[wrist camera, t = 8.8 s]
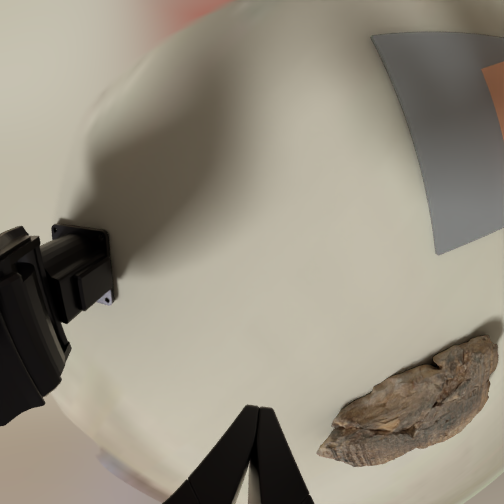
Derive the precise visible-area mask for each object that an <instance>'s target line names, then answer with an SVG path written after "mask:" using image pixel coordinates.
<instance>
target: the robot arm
mask: <svg viewBox="0 0 504 504" xmlns="http://www.w3.org/2000/svg"><path fill="white" fill-rule="evenodd" d="M56 229H57V230H56ZM101 235H103V238H102V237H101ZM108 299H109V300H108ZM95 302H98V303H102V304H105V305H111V304H112V303H113V302H114V293H113V281H112V271H111V260H110V251H109V236H108V233H107V232H106V231H105V230H101V229H94V228H87V227H79V226H72V225H65V224H54V225H53V226H52V241H50V242H48V243H46V244H43V245H41V246H40V238H39V236H29V234H28V233H27V232H26V231H25V229H24V228H23V226H17V227H15V228H12V229H10V230H7V231H5V232H3V233H1V234H0V426H4V425H6V424H7V423H9V422H10V421H11V420H12V419H14V418H15V417H16V416H18V415H19V414H21V413H22V412H24V411H27V410H29V409H31V408H34V407H39V406H43V405H45V401H44V399H43V397H45V396H47V395H48V394H49V393H50V392H52V391H53V390H54V389H55V388H56V387H57V386H58V385H59V384H60V382H61V380H62V378H61V374H62V371H63V369H64V366H65V363H66V360H67V358H68V356H69V353H70V351H71V349H72V348H71V345H70V343H69V341H67V338H66V335H65V333H64V330H63V327H62V324H61V323H62V322H63V323H65V324H68V323H69V322H70V321H71V320H72V319H73V318H75V317H76V316H77V315H78V314H79V313H80V312H81V311H86V310H87V309H88V308H90V307H91V306H92V305H93V304H94V303H95ZM249 461H250V463H249ZM248 465H249V488H248V504H314V502H313V500H312V497H311V496H310V495H309V491H308V489H307V487H306V485H305V482H304V480H303V478H302V476H301V473H300V471H299V469H298V466H297V464H296V462H295V460H294V457H293V455H292V453H291V450H290V448H289V446H288V443H287V441H286V438H285V436H284V434H283V431H282V429H281V426H280V424H279V422H278V419H277V417H276V414H275V412H274V410H273V408H269V407H260V408H259V407H258V406H254V405H246V406H245V407H244V408H243V410H242V411H241V412H240V414H239V415H238V416H237V418H236V419H235V420H234V422H233V423H232V424H231V426H230V427H229V428H228V430H227V431H226V432H225V433H224V435H223V436H222V437H221V439H220V440H219V441H218V442H217V444H216V445H215V446H214V447H213V449H212V450H211V451H210V452H209V454H208V455H207V456H206V457H205V458H204V460H203V461H202V462H201V463H200V464H199V466H198V467H197V468H196V469H195V470H194V471H193V473H192V474H191V475H190V476H189V477H188V480H185V482H184V483H183V484H182V485H181V486H180V487H179V488H178V489H177V490H176V491H175V492H174V493H173V494H172V495H171V496H170V497H169V498H168V499H167V500H166V501H165V502H163V503H162V504H235V503H236V500H237V497H238V495H239V492H240V489H241V486H242V483H243V481H244V478H245V475H246V472H247V469H248Z"/></svg>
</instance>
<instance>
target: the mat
mask: <svg viewBox="0 0 504 504" xmlns="http://www.w3.org/2000/svg"><path fill="white" fill-rule="evenodd" d="M371 39H372V41H373V43H374V45H375V47H376V49H377V51H378V53H379V55H380V57H381V59H382V61H383V63H384V66H385V68H386V70H387V72H388V74H389V77H390V79H391V81H392V84H393V86H394V89H395V91H396V94H397V96H398V99H399V101H400V104H401V107H402V109H403V112H404V115H405V118H406V121H407V124H408V127H409V130H410V133H411V136H412V139H413V143H414V146H415V150H416V153H417V157H418V160H419V164H420V168H421V172H422V176H423V181H424V185H425V190H426V195H427V200H428V205H429V210H430V216H431V222H432V229H433V236H434V243H435V252H436V254H437V255H440V254H443V253H445V252H448V251H451V250H453V249H455V248H458V247H460V246H463V245H465V244H468V243H470V242H472V241H475V240H477V239H479V238H482V237H484V236H486V235H489V234H491V233H493V232H495V231H497V230H500V229H502V228H504V140H503V136H502V132H501V128H500V124H499V120H498V117H497V113H496V110H495V106H494V103H493V100H492V97H491V94H490V91H489V88H488V86H487V83H486V80H485V78H484V75H483V73H482V70H481V69H483V68H486V67H489V66H491V65H494V64H497V63H500V62H504V38H502V37H496V36H489V35H481V34H471V33H457V32H405V33H391V34H380V35H372V36H371Z"/></svg>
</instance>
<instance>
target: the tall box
mask: <svg viewBox="0 0 504 504" xmlns="http://www.w3.org/2000/svg"><path fill="white" fill-rule="evenodd" d="M481 70H482V73H483V75H484V78H485V80H486V83H487V86H488V88H489V91H490V94H491V97H492V100H493V103H494V106H495V110H496V113H497V117H498V120H499V124H500V128H501V132H502V136H503V140H504V62H500V63H497V64H494V65H491V66H489V67H486V68H483V69H481Z"/></svg>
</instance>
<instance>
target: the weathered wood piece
mask: <svg viewBox="0 0 504 504" xmlns="http://www.w3.org/2000/svg"><path fill="white" fill-rule="evenodd" d="M497 350H498V345H497V344H493V343H492V342H491V341H490V337H489V335H483V336H477V337H476V338H472V339H470V340H469V342H466V343H462V344H460V345H453V346H452V347H450V348H449V349H447V350H445V351H442V352H440V353H439V354H437V355H435V356H434V357H433V361H434V362H435V363H436V364H437V368H435V367H433V366H431V365H421V366H418V367H416V368H413V369H411V370H408V371H405V372H403V373H401V374H398V375H394V376H391V377H389V378H387V379H386V380H384V381H383V382H382V383H380V384H378V385H376V386H374V387H373V390H372V392H371V393H370V394H368V395H366V396H365V397H362V398H359V399H357V400H355V401H353V402H352V403H351V404H349V405H348V406H346V407H345V408H344V409H342V410H341V411H340V412H339V414H338V415H337V417H336V418H335V419H334V420H333V423H332V427H336V428H335V429H333V431H332V432H331V434H330V435H329V437H328V438H327V439H326V440H325V441H324V443H323V444H322V445H320V448H319V450H318V451H317V454H318V455H319V456H322V457H326V458H331V459H335V460H337V461H343V462H344V463H347V464H349V465H352V466H353V467H362V466H366V465H367V466H373V465H379V464H385V463H386V462H388V461H391V460H394V459H395V458H397V457H400V456H402V455H404V454H405V453H407V452H409V451H411V450H413V449H415V448H421V449H423V448H426V447H428V446H431V445H434V444H436V443H440V442H444V441H446V440H447V439H449V438H451V437H453V436H454V435H456V434H458V433H459V432H461V431H462V430H463V429H464V427H465V426H466V425H467V424H468V423H470V422H471V421H472V419H473V418H474V417H475V416H476V415H477V414H478V413H479V412H480V411H481V410H482V408H483V407H484V405H485V403H486V401H487V400H488V398H489V396H488V392H489V387H490V381H489V375H490V374H491V373H492V372H493V371H494V370H495V369H496V366H497V363H498V352H497Z"/></svg>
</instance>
